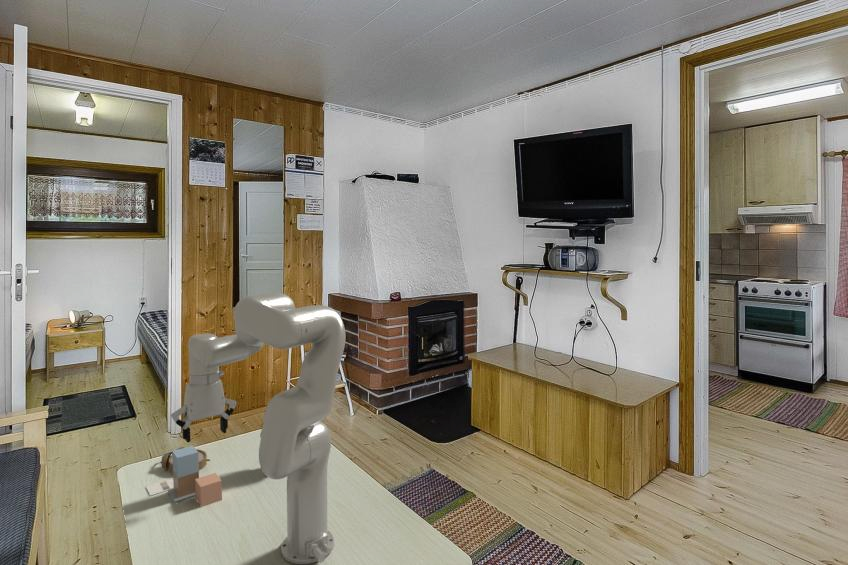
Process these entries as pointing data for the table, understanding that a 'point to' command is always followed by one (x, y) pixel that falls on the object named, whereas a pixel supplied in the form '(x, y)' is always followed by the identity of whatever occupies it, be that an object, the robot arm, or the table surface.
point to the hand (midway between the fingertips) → (205, 436)
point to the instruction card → (160, 487)
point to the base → (183, 487)
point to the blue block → (185, 461)
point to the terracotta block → (208, 489)
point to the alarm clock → (168, 460)
